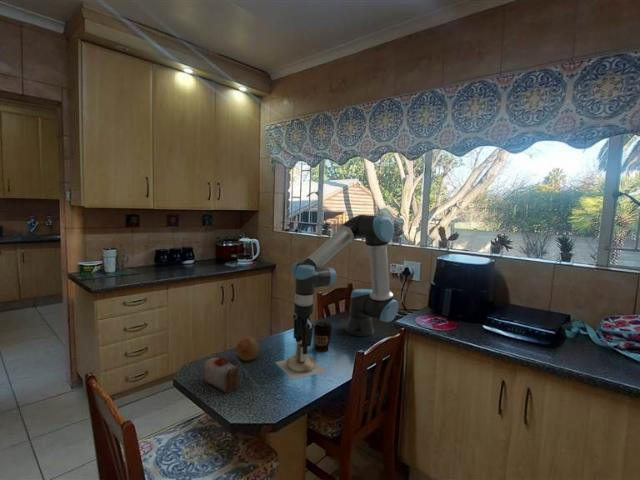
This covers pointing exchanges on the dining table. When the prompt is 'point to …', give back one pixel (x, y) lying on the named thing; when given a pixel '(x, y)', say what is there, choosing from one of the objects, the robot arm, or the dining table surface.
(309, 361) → the lid
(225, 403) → the dining table surface
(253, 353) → the onion
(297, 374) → the mat
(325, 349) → the coffee cup
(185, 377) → the dining table surface
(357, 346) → the dining table surface
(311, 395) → the dining table surface
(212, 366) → the food item
